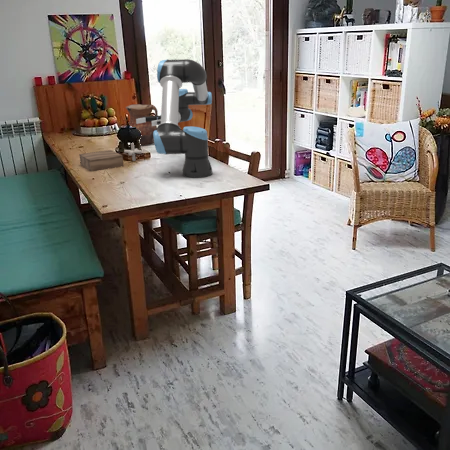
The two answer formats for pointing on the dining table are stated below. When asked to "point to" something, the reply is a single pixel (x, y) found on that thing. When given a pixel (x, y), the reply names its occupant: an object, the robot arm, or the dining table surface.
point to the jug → (145, 128)
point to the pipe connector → (133, 151)
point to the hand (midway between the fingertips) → (144, 122)
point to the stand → (101, 160)
